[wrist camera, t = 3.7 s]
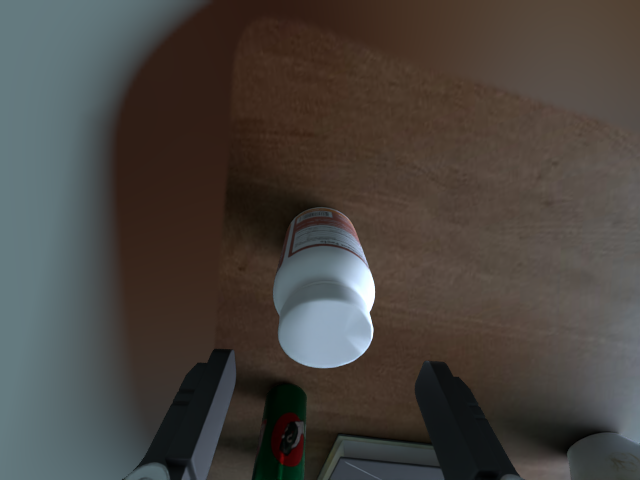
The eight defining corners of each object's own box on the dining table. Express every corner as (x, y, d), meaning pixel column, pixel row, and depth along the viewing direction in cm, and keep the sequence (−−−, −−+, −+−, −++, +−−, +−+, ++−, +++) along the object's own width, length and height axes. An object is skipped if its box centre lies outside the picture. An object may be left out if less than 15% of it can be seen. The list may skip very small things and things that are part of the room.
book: (315, 480, 42) (315, 504, 40) (338, 433, 36) (340, 458, 33) (432, 490, 45) (440, 514, 42) (473, 448, 38) (485, 473, 36)
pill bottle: (324, 278, 24) (330, 393, 14) (272, 242, 22) (236, 344, 12) (370, 234, 22) (416, 331, 12) (317, 189, 20) (318, 260, 10)
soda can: (262, 383, 31) (233, 526, 20) (302, 378, 30) (294, 520, 20) (273, 407, 33) (252, 548, 22) (310, 402, 33) (308, 542, 22)
